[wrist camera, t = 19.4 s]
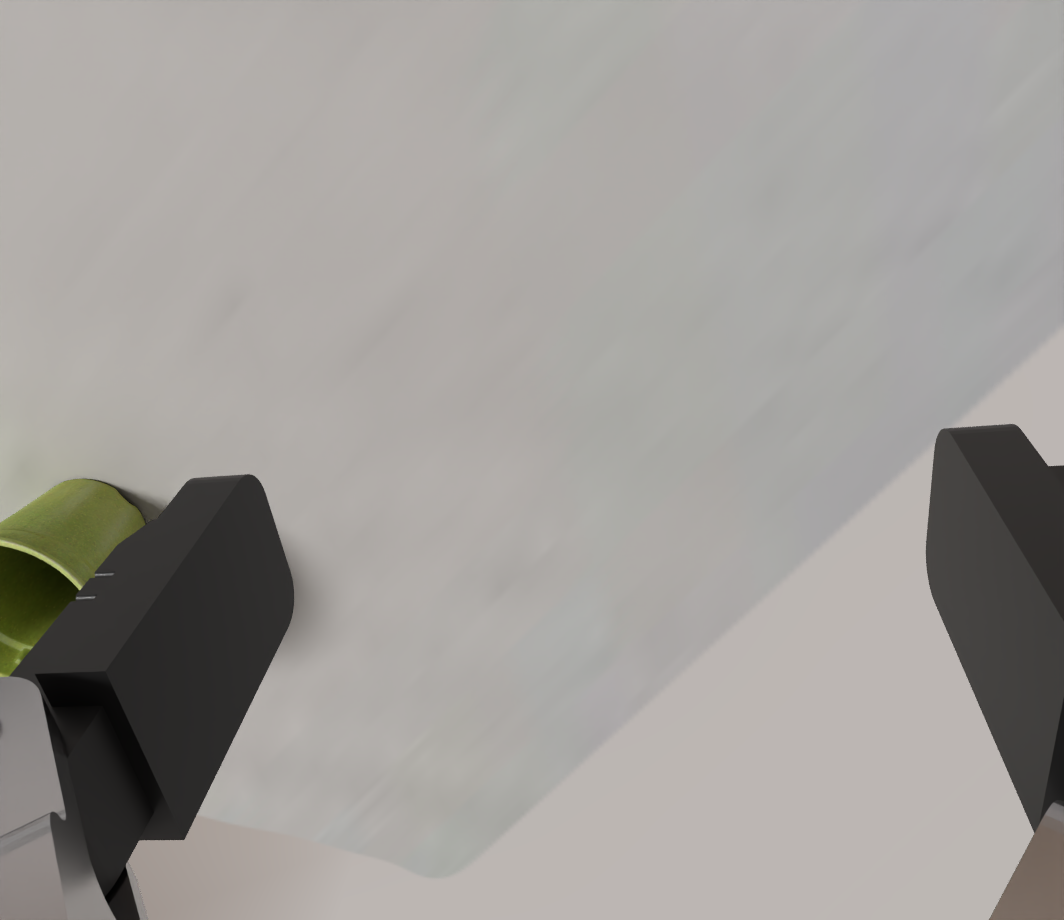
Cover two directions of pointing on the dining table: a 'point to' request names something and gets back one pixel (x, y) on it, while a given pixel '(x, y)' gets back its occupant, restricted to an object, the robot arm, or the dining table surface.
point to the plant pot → (55, 557)
